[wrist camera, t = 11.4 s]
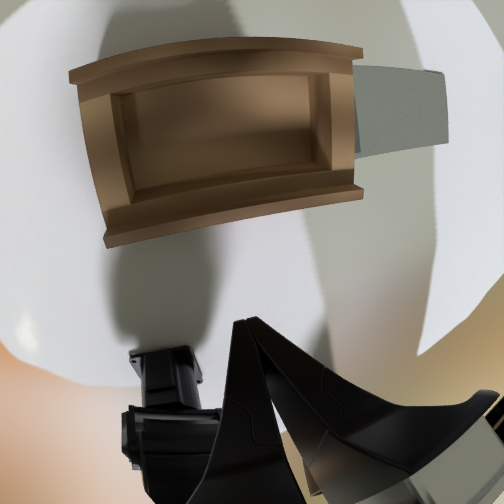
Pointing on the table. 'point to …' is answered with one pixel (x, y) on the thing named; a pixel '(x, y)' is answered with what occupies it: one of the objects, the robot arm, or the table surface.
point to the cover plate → (398, 109)
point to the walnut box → (217, 132)
